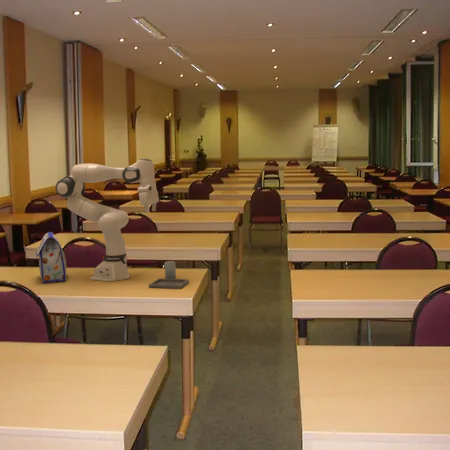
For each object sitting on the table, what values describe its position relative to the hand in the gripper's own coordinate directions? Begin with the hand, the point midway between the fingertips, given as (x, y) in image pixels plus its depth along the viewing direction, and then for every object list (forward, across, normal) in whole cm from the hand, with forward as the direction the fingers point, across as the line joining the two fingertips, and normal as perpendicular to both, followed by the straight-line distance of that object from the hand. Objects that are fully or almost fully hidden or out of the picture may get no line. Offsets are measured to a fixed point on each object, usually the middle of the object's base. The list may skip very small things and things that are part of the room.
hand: (151, 211), depth 362 cm
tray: (+40, +12, +11) cm, 43 cm away
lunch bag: (+35, +4, -64) cm, 73 cm away
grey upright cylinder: (+39, -1, +7) cm, 40 cm away
